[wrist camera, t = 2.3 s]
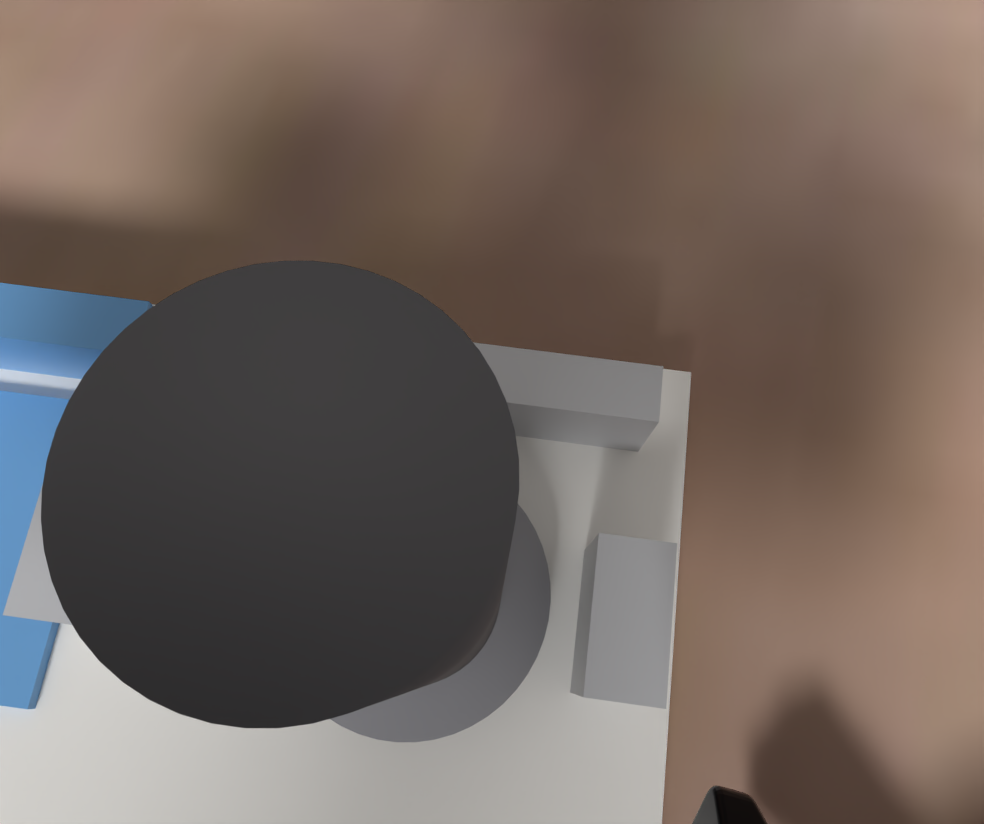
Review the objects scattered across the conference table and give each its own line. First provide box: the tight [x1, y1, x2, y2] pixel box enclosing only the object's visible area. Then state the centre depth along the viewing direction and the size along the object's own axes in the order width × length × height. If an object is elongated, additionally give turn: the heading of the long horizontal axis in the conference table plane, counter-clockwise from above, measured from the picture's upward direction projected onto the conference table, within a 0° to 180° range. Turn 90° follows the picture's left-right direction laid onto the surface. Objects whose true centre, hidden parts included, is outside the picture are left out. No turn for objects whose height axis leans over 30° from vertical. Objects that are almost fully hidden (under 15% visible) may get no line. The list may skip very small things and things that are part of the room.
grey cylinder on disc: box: [41, 261, 551, 742], centre depth 12 cm, size 6×6×12 cm
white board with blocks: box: [0, 283, 691, 824], centre depth 17 cm, size 22×12×4 cm, turn 82°
